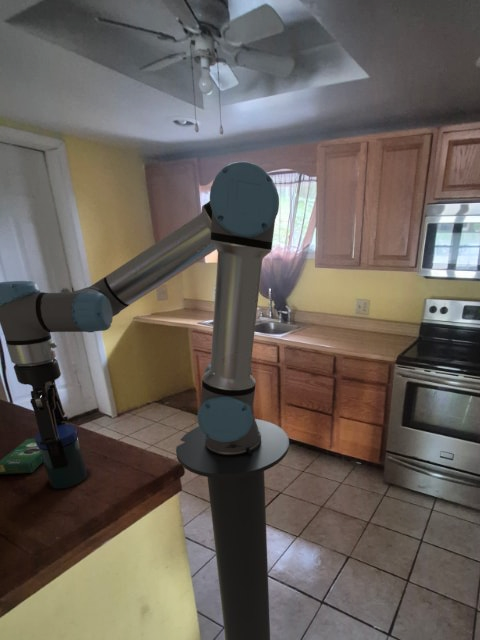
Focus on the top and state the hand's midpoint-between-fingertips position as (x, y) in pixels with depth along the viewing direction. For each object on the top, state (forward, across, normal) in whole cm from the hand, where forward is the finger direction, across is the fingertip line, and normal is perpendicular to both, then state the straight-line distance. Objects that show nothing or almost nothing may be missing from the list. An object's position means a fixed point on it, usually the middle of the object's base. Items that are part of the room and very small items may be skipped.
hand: (62, 457), depth 84 cm
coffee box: (+5, +20, +7) cm, 22 cm away
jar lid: (-6, 0, 0) cm, 6 cm away
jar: (+6, 0, 0) cm, 6 cm away
